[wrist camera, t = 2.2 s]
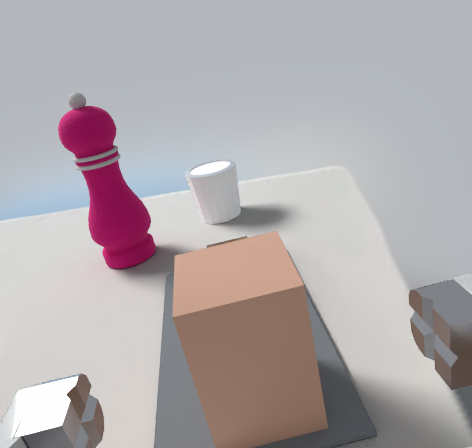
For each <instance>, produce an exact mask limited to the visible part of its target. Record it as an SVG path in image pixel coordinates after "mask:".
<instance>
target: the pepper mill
mask: <svg viewBox="0 0 472 448" xmlns="http://www.w3.org/2000/svg"><path fill="white" fill-rule="evenodd" d="M68 102H69V105H70V106H71V107H72V108H73V110H71V111H69V112H68V113H67V114H65V115H64V116H63V117H62V119H61V121H60V123H59V127H58V131H59V137H60V140H61V142H62V144H63V145H64V147H65V148H66V149H68V150H69V151H71V152H73V153H74V154H75V157H74V158H73V161H74V162H76V169H77V170H81V171H82V173H83V175H84V177H85V179H86V182H87V186H88V189H89V193H90V208H89V218H88V221H89V230H90V233H91V237H92V239H93V240H94V241H95V242H96V243H97V244H99V245H101V246H103V247H104V249H103V252H102V253H103V256H104V259H105V261H106V264H107V265H108V266H109V267H110V268H115V269H122V268H128V267H132V266H135V265H138V264H140V263H142V262H144V261H146V260H147V259H149V258H150V257H151V256H152V255H153V254H154V252H155V250H156V247H155V244H154V240H153V237H152V235H150V234H149V233H147V231H148V229H149V227H150V223H151V218H150V215H149V213H148V211H147V209H146V207H145V206H144V204H143V203H142V201H141V200H140V199H139V198H138V197H137V196H136V195H135V194H134V193H133V192H132V190H131V189H130V188H129V187H128V185H127V184H126V182H125V180H124V179H123V176H122V174H121V171H120V168H119V163H118V159H119V158H120V154H118V151H117V150H118V147H117V146H115V145H113V141H114V138H115V136H116V126H115V124H114V121H113V119H112V118H111V116H110V115H109V114H108V113H107V112H106V111H105V110H103V109H101V108H99V107H94V106H85V105H86V99H85V97H84V96H83V95H82V94H80V93H73V94H71V95H70V96H69V99H68Z"/></svg>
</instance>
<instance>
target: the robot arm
mask: <svg viewBox="0 0 472 448" xmlns="http://www.w3.org/2000/svg"><path fill="white" fill-rule="evenodd" d="M409 305H410V306H411V307H412V308H413V309H414V310H415V312H414V314H413V316H412V317H411V319H410V321H411V331H412V334H413V337H414V340H415V342H416V344H417V346H418V348H419V349H420V351H421V352H422V353H423V355H424V356H425V357H427V358H429V359H432V360H434V361H435V370H436V371H437V372H438V374H439V375H440V376H441V377H442V379H443V380H444V381H445V382H446V384H447V385H448V386H449V387H450V389H451V390H454V389H458V388H463V387H467V386H471V385H472V274H466V275H462V276H459V277H456V278H452V279H450V280H447V281H443V282H440V283H436V284H432V285H428V286H424V287H420V288H417V289H413V290H410V293H409ZM90 389H91V384H90V382H89V380H88V378H87V376H86V375H84V374H77V375H73V376H68V377H64V378H60V379H55V380H51V381H47V382H43V383H39V384H35V385H31V386H27V387H23V388H21V389H19V390H18V391H17V392H16V394H15V395H14V397H13V399H12V401H11V403H10V405H9V407H8V409H7V411H6V413H5V415H4V417H3V419H2V421H1V423H0V448H96V446H97V445H98V444H99V443H100V442H101V440H102V437H103V432H104V416H103V412H102V408H101V405H100V403H99V401H98V399H96V398H94V397H93V396H91V395H89V392H90ZM467 448H472V446H471V447H467Z"/></svg>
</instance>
